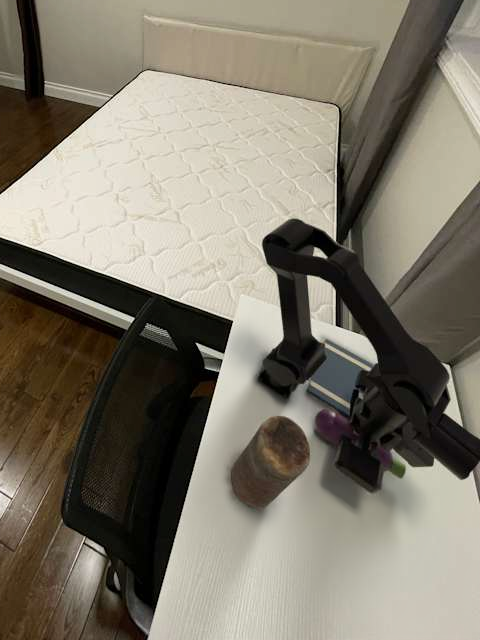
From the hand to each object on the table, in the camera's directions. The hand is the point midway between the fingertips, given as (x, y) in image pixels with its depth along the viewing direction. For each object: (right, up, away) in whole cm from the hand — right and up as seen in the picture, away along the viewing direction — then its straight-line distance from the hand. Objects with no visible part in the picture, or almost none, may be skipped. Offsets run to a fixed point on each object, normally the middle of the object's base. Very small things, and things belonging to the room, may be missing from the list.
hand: (349, 441), depth 68 cm
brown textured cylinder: (-19, -4, -4) cm, 20 cm away
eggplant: (0, -1, +1) cm, 1 cm away
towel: (+4, +7, +10) cm, 13 cm away
